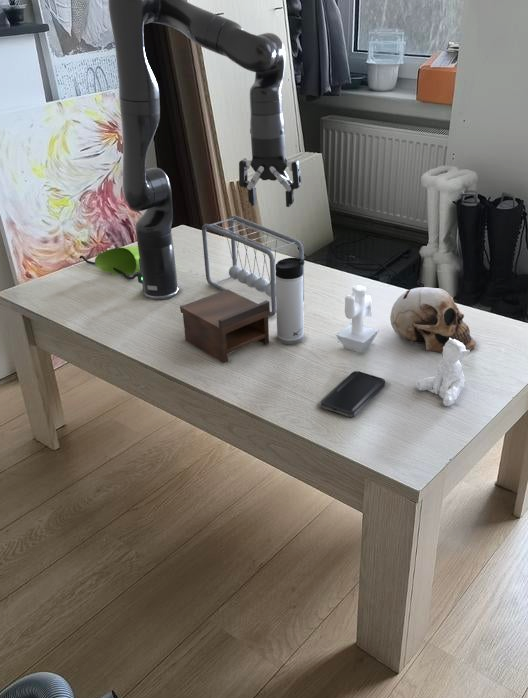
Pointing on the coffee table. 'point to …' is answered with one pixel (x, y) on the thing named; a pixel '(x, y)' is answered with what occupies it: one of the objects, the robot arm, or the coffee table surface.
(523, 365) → the coffee table surface
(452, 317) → the coin bank
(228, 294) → the brown wooden stand
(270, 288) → the newton's cradle
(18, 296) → the coffee table surface
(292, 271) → the travel mug
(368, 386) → the phone
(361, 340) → the figurine
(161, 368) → the coffee table surface
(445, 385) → the white creature statuette
